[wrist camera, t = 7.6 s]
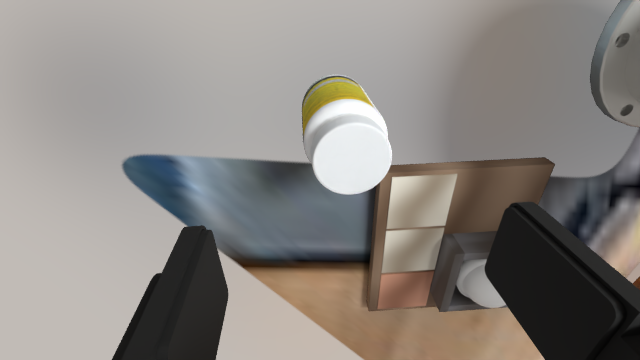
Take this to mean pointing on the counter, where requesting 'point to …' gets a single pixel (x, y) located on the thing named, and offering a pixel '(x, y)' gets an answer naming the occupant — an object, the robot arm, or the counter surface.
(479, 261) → the dome
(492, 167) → the game board
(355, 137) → the supplement bottle
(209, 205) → the counter surface
